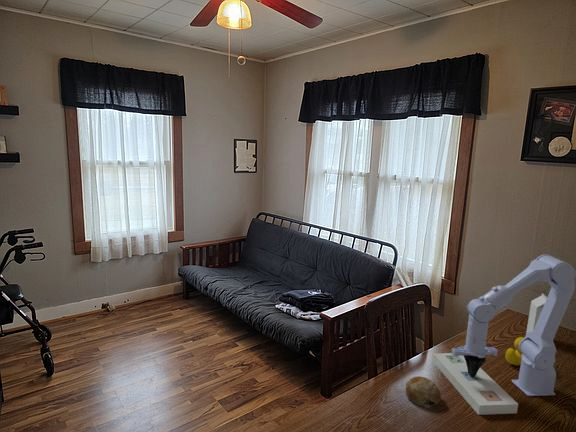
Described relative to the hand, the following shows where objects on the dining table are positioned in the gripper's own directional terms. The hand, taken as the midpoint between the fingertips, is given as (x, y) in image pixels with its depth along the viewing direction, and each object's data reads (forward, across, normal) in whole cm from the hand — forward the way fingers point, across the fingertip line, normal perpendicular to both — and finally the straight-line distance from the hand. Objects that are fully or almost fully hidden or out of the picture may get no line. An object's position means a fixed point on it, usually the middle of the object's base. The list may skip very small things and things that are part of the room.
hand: (471, 375), depth 122 cm
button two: (+3, 0, +10) cm, 10 cm away
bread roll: (+4, -19, -5) cm, 20 cm away
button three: (+3, 0, 0) cm, 3 cm away
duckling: (+4, +25, +11) cm, 27 cm away
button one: (+3, 0, -10) cm, 10 cm away
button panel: (+3, 0, 0) cm, 3 cm away
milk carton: (+4, +47, +28) cm, 55 cm away
